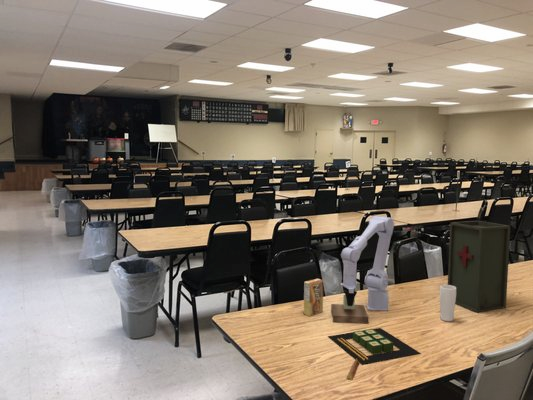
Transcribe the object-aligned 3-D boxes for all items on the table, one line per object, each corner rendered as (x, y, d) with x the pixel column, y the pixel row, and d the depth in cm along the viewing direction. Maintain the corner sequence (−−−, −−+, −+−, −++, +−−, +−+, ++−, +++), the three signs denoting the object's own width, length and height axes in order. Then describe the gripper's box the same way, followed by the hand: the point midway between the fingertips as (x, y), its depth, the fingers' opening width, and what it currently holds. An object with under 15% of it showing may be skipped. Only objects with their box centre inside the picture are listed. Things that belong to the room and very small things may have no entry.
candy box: (316, 309, 200) (317, 278, 199) (323, 312, 197) (323, 280, 196) (303, 314, 195) (303, 281, 193) (309, 316, 192) (310, 283, 190)
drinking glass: (455, 318, 190) (456, 285, 188) (454, 323, 184) (456, 290, 182) (438, 316, 192) (440, 283, 191) (438, 321, 186) (439, 288, 185)
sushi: (327, 338, 170) (327, 329, 170) (380, 329, 178) (380, 321, 178) (362, 366, 146) (362, 356, 146) (420, 355, 155) (421, 345, 155)
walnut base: (363, 311, 198) (363, 305, 198) (368, 323, 184) (368, 316, 183) (331, 310, 200) (331, 304, 199) (333, 322, 185) (333, 315, 185)
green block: (353, 305, 193) (353, 295, 193) (354, 309, 189) (354, 298, 188) (343, 305, 194) (343, 294, 193) (344, 308, 189) (344, 297, 189)
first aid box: (505, 308, 203) (510, 225, 199) (477, 313, 196) (481, 228, 192) (474, 296, 220) (477, 220, 216) (446, 300, 213) (450, 222, 209)
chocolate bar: (345, 379, 137) (345, 373, 137) (352, 363, 148) (352, 357, 148) (353, 381, 136) (353, 374, 136) (360, 365, 147) (360, 358, 147)
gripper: (339, 270, 197) (338, 298, 199) (342, 278, 183) (341, 309, 184) (354, 270, 197) (354, 298, 198) (358, 279, 182) (358, 309, 184)
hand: (349, 303), depth 191 cm, fingers closed on green block, 4 cm apart
